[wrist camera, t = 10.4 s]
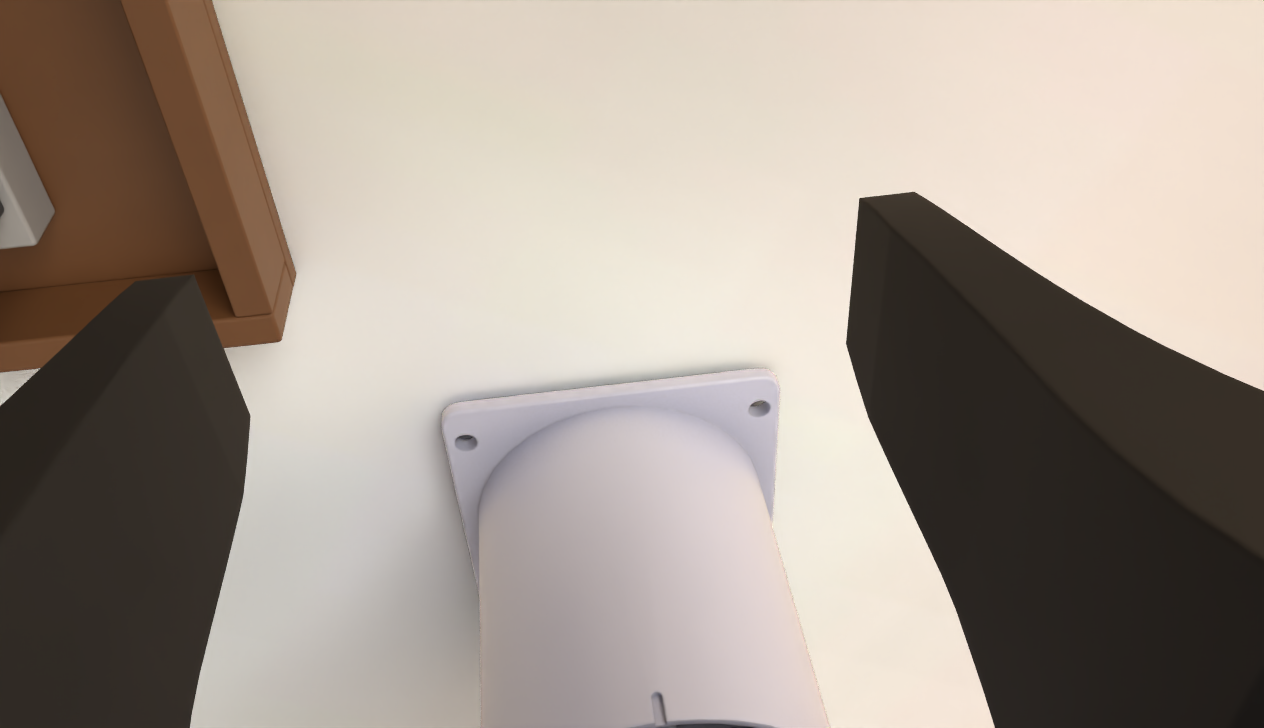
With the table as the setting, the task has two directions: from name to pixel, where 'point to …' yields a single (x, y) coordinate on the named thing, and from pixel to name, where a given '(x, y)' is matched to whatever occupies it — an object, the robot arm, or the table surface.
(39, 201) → the dark grey eraser block
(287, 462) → the table surface
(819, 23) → the table surface
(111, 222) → the tray
